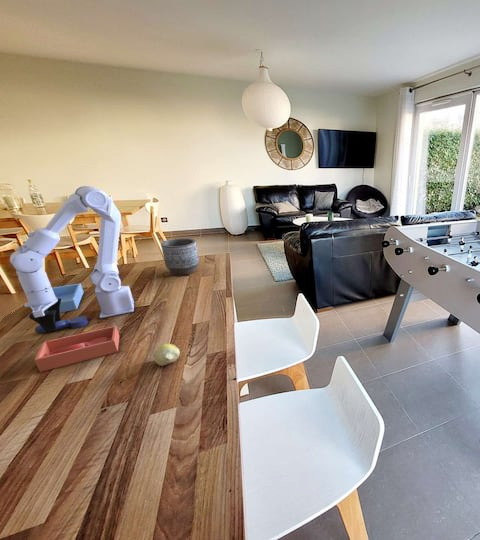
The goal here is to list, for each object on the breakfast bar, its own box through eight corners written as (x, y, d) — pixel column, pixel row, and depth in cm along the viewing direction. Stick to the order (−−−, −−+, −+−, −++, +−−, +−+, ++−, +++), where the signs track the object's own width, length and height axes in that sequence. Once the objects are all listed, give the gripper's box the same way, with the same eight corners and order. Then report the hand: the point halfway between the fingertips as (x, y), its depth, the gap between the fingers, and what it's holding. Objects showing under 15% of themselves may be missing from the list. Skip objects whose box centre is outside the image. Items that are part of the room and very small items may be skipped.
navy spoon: (34, 337, 89) (31, 330, 88) (38, 330, 93) (35, 323, 92) (87, 325, 96) (84, 319, 95) (88, 319, 99) (86, 313, 98)
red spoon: (50, 363, 79) (47, 355, 78) (54, 354, 82) (51, 346, 81) (108, 348, 85) (106, 341, 84) (109, 340, 89) (107, 333, 88)
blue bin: (52, 297, 112) (48, 288, 110) (83, 292, 117) (80, 283, 115) (41, 316, 100) (36, 306, 98) (77, 309, 105) (73, 299, 103)
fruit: (178, 346, 89) (185, 359, 81) (157, 359, 85) (163, 374, 78) (168, 332, 86) (174, 344, 79) (146, 345, 83) (150, 358, 76)
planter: (202, 273, 140) (197, 244, 134) (168, 279, 132) (161, 248, 126) (198, 264, 150) (193, 236, 145) (166, 268, 143) (160, 240, 137)
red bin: (119, 336, 92) (116, 325, 90) (117, 351, 85) (114, 340, 83) (48, 353, 83) (43, 341, 82) (40, 372, 76) (34, 360, 75)
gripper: (26, 282, 91) (42, 319, 96) (10, 301, 80) (29, 341, 85) (57, 278, 95) (70, 313, 100) (46, 295, 84) (62, 334, 89)
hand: (53, 326), depth 93 cm, fingers open, 6 cm apart
